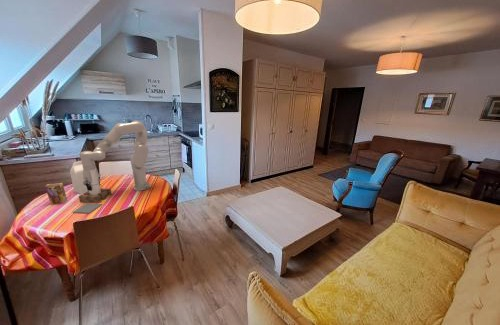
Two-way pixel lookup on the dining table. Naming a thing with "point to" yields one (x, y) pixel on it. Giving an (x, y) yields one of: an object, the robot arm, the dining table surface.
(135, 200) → the dining table surface
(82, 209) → the mat
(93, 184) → the cylindrical container
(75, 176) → the milk
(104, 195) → the collar
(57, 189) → the candy box
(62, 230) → the dining table surface
